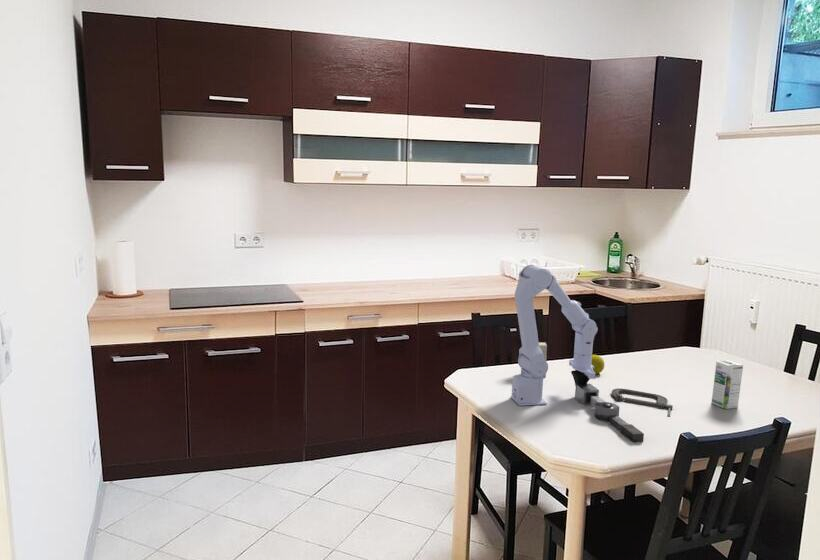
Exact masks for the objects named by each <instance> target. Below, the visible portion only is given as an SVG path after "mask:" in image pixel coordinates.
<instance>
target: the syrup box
mask: <svg viewBox="0 0 820 560" xmlns="http://www.w3.org/2000/svg"><path fill="white" fill-rule="evenodd" d="M743 370H744V364H740V363H737V362H734V361H732V360H727V359H722V360H717V361H716V363H715V370H714V380H713V387H712V396H711V401H710V402H711V404H712V405H715V406H718V407H719V408H722V409H724V410H729V409H734V408H738V407H739V401H740V394H741V393H740V392H741V385H742V384H741V383H742V379H743V378H742V377H743Z"/></svg>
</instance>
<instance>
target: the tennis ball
mask: <svg viewBox="0 0 820 560" xmlns="http://www.w3.org/2000/svg"><path fill="white" fill-rule="evenodd" d="M591 365H593V366H594V368H593V371H594V372H595V375H597V374H600V373H602V371H603V370H604V369H605V361H604V359H603V357H602V356H600V355H597V354H592V361H591Z"/></svg>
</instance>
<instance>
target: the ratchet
mask: <svg viewBox="0 0 820 560" xmlns="http://www.w3.org/2000/svg"><path fill="white" fill-rule="evenodd" d="M590 404H591V405H590V406H593V407H594V416H593V417H594V418H595V419H597V420H598V421H601V422H607V423H609V424H610V425H611V426H612V427H614V428H615V429H616V430H617V431H619V432H620V434H622V435H623V436H624V437H626V439H628V440H629V441H631V442H632V443H640V442H644V438H645V437H644V435H645V433H644V432H642V431H641V430H640V429H639V428H637V427H636V426H634V425H633V424H630V423H627V421H625V420H624V419H622V418H621V417H620V406H619V405H618V404H616V403H613V402H609V401H605V400H604V399H602V398H601V397H600V396H591V403H590Z"/></svg>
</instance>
